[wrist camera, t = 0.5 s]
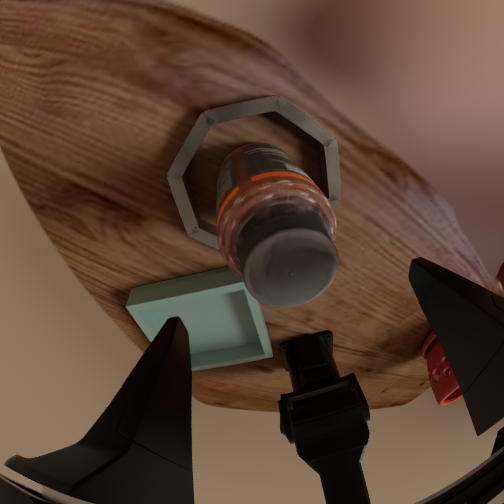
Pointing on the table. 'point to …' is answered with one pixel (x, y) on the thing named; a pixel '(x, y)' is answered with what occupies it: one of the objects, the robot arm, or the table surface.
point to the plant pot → (440, 372)
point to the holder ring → (234, 111)
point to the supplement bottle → (275, 226)
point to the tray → (206, 316)
